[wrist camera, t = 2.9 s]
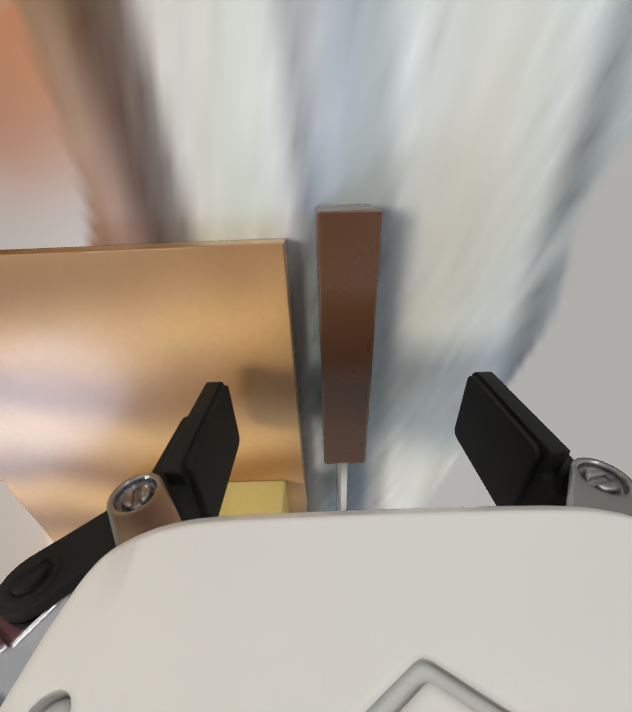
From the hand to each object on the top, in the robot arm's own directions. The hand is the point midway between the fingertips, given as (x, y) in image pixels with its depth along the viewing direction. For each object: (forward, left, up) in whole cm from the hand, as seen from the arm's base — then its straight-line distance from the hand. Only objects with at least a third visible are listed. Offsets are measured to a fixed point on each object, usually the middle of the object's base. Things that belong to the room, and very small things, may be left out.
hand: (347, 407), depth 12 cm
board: (+5, -10, -2) cm, 11 cm away
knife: (+3, 0, -2) cm, 4 cm away
